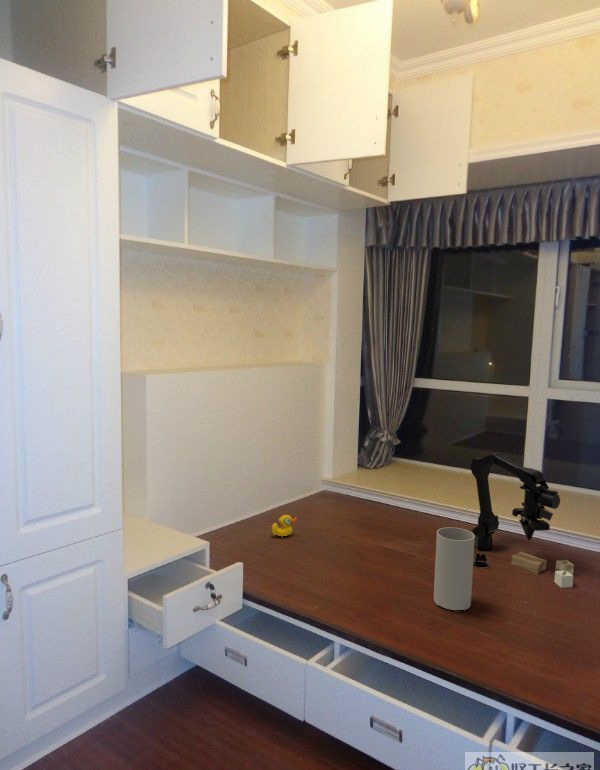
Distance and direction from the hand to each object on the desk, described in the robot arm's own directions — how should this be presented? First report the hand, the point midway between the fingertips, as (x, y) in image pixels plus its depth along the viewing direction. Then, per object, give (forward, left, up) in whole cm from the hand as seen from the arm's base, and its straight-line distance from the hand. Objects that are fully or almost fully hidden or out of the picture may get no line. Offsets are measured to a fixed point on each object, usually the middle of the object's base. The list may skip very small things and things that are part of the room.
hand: (528, 539), depth 230 cm
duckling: (-95, +39, -11) cm, 103 cm away
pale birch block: (+11, -8, -11) cm, 18 cm away
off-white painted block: (+5, -17, -11) cm, 21 cm away
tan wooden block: (0, -1, -11) cm, 11 cm away
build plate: (-19, +2, -12) cm, 22 cm away
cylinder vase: (-43, -27, -11) cm, 52 cm away
